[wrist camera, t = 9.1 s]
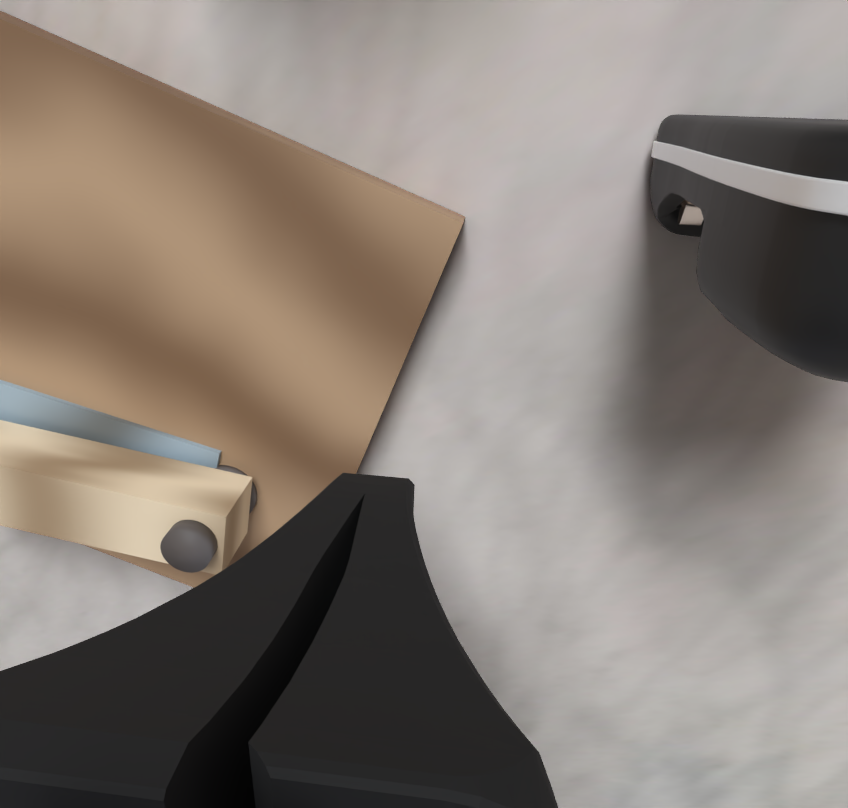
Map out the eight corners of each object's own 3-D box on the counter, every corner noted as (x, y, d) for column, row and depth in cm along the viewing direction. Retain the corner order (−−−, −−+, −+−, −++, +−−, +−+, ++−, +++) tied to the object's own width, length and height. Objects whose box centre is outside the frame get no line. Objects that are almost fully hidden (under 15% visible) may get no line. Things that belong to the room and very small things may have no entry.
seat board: (299, 603, 27) (289, 630, 25) (-52, 467, 26) (-82, 487, 24) (465, 217, 20) (462, 224, 18) (-15, 4, 18) (-56, -4, 17)
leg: (252, 477, 22) (218, 528, 20) (247, 532, 23) (214, 588, 21) (-56, 407, 22) (-132, 448, 20) (-47, 465, 23) (-118, 512, 21)
